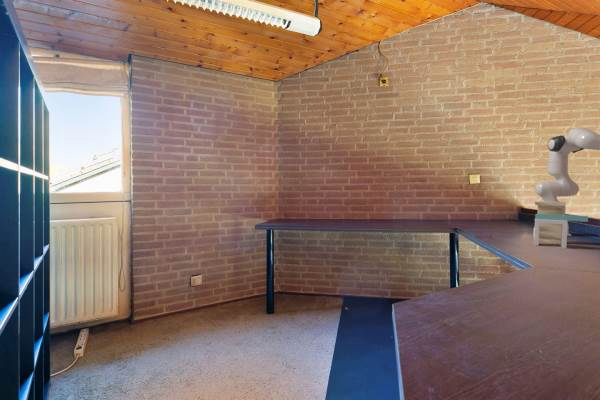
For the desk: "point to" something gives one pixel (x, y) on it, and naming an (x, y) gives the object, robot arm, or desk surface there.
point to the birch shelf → (550, 231)
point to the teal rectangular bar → (561, 217)
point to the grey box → (563, 227)
